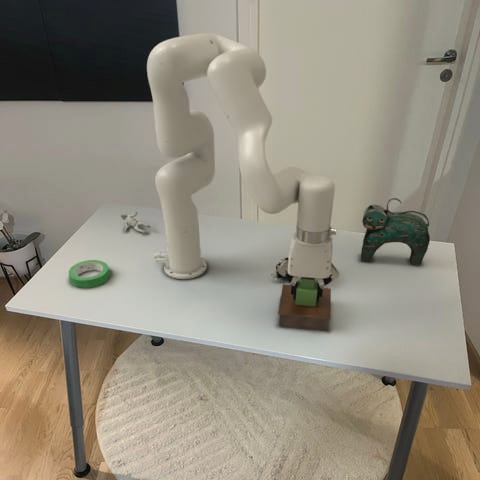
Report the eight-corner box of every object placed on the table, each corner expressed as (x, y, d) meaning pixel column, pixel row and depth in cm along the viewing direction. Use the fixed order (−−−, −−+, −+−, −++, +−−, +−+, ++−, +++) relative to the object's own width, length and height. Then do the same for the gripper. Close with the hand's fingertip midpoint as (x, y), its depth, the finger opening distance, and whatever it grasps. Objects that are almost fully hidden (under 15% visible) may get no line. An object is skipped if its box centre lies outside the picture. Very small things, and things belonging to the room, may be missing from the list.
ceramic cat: (355, 262, 139) (366, 200, 127) (355, 252, 144) (365, 190, 132) (423, 268, 137) (442, 205, 124) (420, 257, 142) (438, 195, 129)
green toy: (295, 304, 115) (297, 280, 111) (296, 293, 119) (298, 269, 114) (315, 306, 114) (318, 282, 110) (316, 295, 118) (318, 271, 114)
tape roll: (109, 265, 139) (107, 257, 137) (110, 285, 130) (108, 277, 129) (71, 269, 137) (69, 262, 135) (69, 290, 128) (67, 282, 127)
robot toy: (268, 285, 131) (320, 294, 126) (268, 272, 129) (320, 280, 123) (282, 264, 140) (331, 272, 135) (282, 251, 137) (332, 258, 132)
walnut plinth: (277, 327, 115) (278, 312, 113) (281, 298, 125) (282, 284, 122) (328, 332, 114) (330, 317, 111) (328, 302, 124) (330, 288, 121)
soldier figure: (138, 240, 153) (111, 222, 155) (144, 243, 157) (117, 226, 160) (151, 220, 152) (123, 202, 155) (156, 224, 157) (129, 207, 159)
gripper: (350, 227, 107) (340, 292, 118) (276, 222, 109) (273, 286, 120) (351, 242, 101) (340, 309, 112) (273, 237, 103) (270, 303, 114)
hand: (306, 296), depth 116 cm, fingers closed on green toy, 5 cm apart
